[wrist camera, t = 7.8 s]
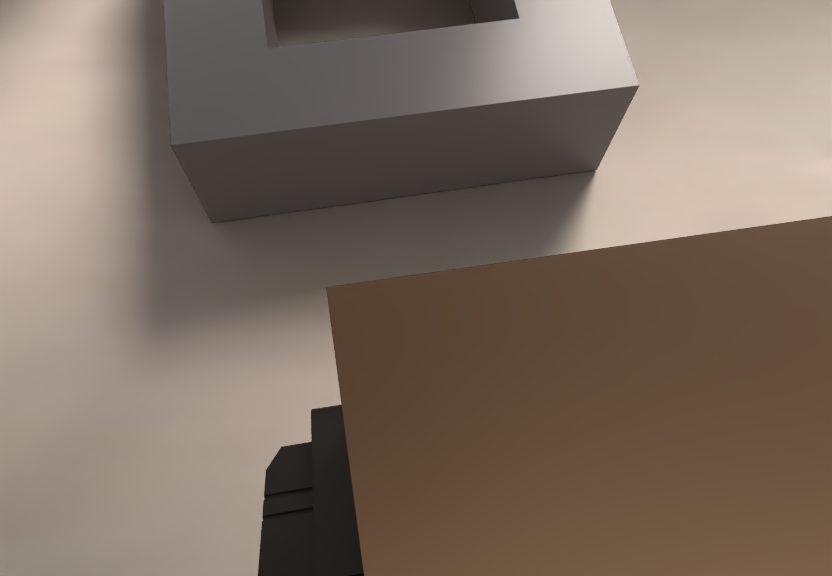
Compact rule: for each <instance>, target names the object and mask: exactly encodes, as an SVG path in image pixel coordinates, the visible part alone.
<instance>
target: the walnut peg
mask: <svg viewBox="0 0 832 576" xmlns="http://www.w3.org/2000/svg"><path fill="white" fill-rule="evenodd" d="M326 289H327V296H328V304H329V312H330V319H331V327H332V335H333V342H334V350H335V358H336V365H337V373H338V380H339V388H340V396H341V403H342V411H343V419H344V426H345V434H346V442H347V449H348V457H349V464H350V472H351V480H352V487H353V495H354V503H355V510H356V518H357V526H358V533H359V541H360V548H361V556H362V564H363V571H364V576H832V216H830V217H823V218H816V219H809V220H801V221H794V222H787V223H780V224H773V225H766V226H759V227H752V228H745V229H737V230H730V231H723V232H716V233H709V234H702V235H695V236H688V237H680V238H673V239H666V240H659V241H652V242H645V243H638V244H631V245H624V246H616V247H609V248H602V249H595V250H588V251H581V252H574V253H567V254H559V255H552V256H545V257H538V258H531V259H524V260H517V261H510V262H503V263H495V264H488V265H481V266H474V267H467V268H460V269H453V270H446V271H438V272H431V273H424V274H417V275H410V276H403V277H396V278H389V279H382V280H374V281H367V282H360V283H353V284H346V285H339V286H332V287H326Z"/></svg>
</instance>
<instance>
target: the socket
mask: <svg viewBox="0 0 832 576" xmlns="http://www.w3.org/2000/svg"><path fill="white" fill-rule="evenodd" d="M470 3H471V7H472V11H473V15H474V18H475V22H476V24H468V25H460V26H451V27H443V28H434V29H426V30H417V31H409V32H401V33H392V34H384V35H375V36H367V37H358V38H350V39H341V40H333V41H324V42H316V43H307V44H299V45H290V46H282V47H278V41H277V33H276V26H275V18H274V10H273V2H272V0H163V7H164V26H165V45H166V63H167V82H168V101H169V120H170V139H171V146H172V148H173V150H174V152H175V154H176V156H177V158H178V160H179V162H180V164H181V165H182V167H183V169H184V171H185V173H186V175H187V177H188V179H189V181H190V182H191V184H192V186H193V188H194V190H195V192H196V194H197V196H198V198H199V200H200V201H201V203H202V205H203V207H204V209H205V211H206V213H207V215H208V217H209V218H210V220H211V222H212V223H216V222H223V221H230V220H237V219H245V218H252V217H259V216H266V215H273V214H281V213H288V212H295V211H302V210H309V209H317V208H324V207H331V206H338V205H345V204H353V203H360V202H367V201H374V200H382V199H389V198H396V197H403V196H410V195H418V194H425V193H432V192H439V191H446V190H454V189H461V188H468V187H475V186H482V185H490V184H497V183H504V182H511V181H518V180H526V179H533V178H540V177H547V176H555V175H562V174H569V173H576V172H583V171H591V170H597V168H598V166H599V164H600V162H601V160H602V158H603V156H604V154H605V152H606V150H607V148H608V147H609V145H610V143H611V141H612V139H613V137H614V135H615V133H616V131H617V129H618V127H619V125H620V123H621V121H622V119H623V117H624V115H625V113H626V111H627V109H628V107H629V105H630V103H631V101H632V99H633V97H634V95H635V93H636V91H637V89H638V87H639V82H638V80H637V77H636V74H635V71H634V68H633V65H632V62H631V60H630V57H629V54H628V51H627V48H626V45H625V42H624V40H623V37H622V34H621V31H620V28H619V25H618V23H617V20H616V17H615V14H614V11H613V8H612V5H611V3H610V0H470Z"/></svg>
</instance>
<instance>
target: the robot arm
mask: <svg viewBox="0 0 832 576" xmlns="http://www.w3.org/2000/svg"><path fill="white" fill-rule="evenodd" d="M311 434H312V442H308V443H302V444H296V445H290V446H284V447H281V448H280V450H279V451H278V453H277V454H276V456H275V457H274V459H273V461H272V462H271V464H270V465H269V467H268V468H267V470H266V478H265V491H264V497H265V500H264V504H263V521H262V530H261V543H260V556H259V569H258V576H364V571H363V564H362V556H361V548H360V541H359V533H358V526H357V518H356V510H355V503H354V495H353V487H352V480H351V472H350V464H349V457H348V449H347V442H346V434H345V426H344V419H343V411H342V405H337V406H330V407H324V408H318V409H312V410H311Z"/></svg>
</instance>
